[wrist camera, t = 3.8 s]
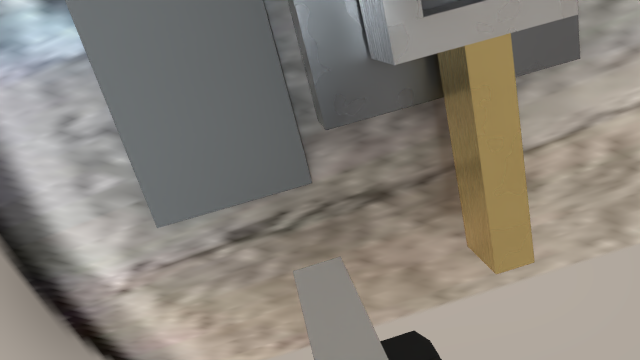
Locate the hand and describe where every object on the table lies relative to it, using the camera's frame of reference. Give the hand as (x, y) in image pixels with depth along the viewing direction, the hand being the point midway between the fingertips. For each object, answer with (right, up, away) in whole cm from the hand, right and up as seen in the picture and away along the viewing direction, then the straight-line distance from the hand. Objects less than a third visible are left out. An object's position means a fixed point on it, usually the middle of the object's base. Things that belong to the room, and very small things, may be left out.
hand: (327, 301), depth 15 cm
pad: (-5, +7, +5) cm, 10 cm away
